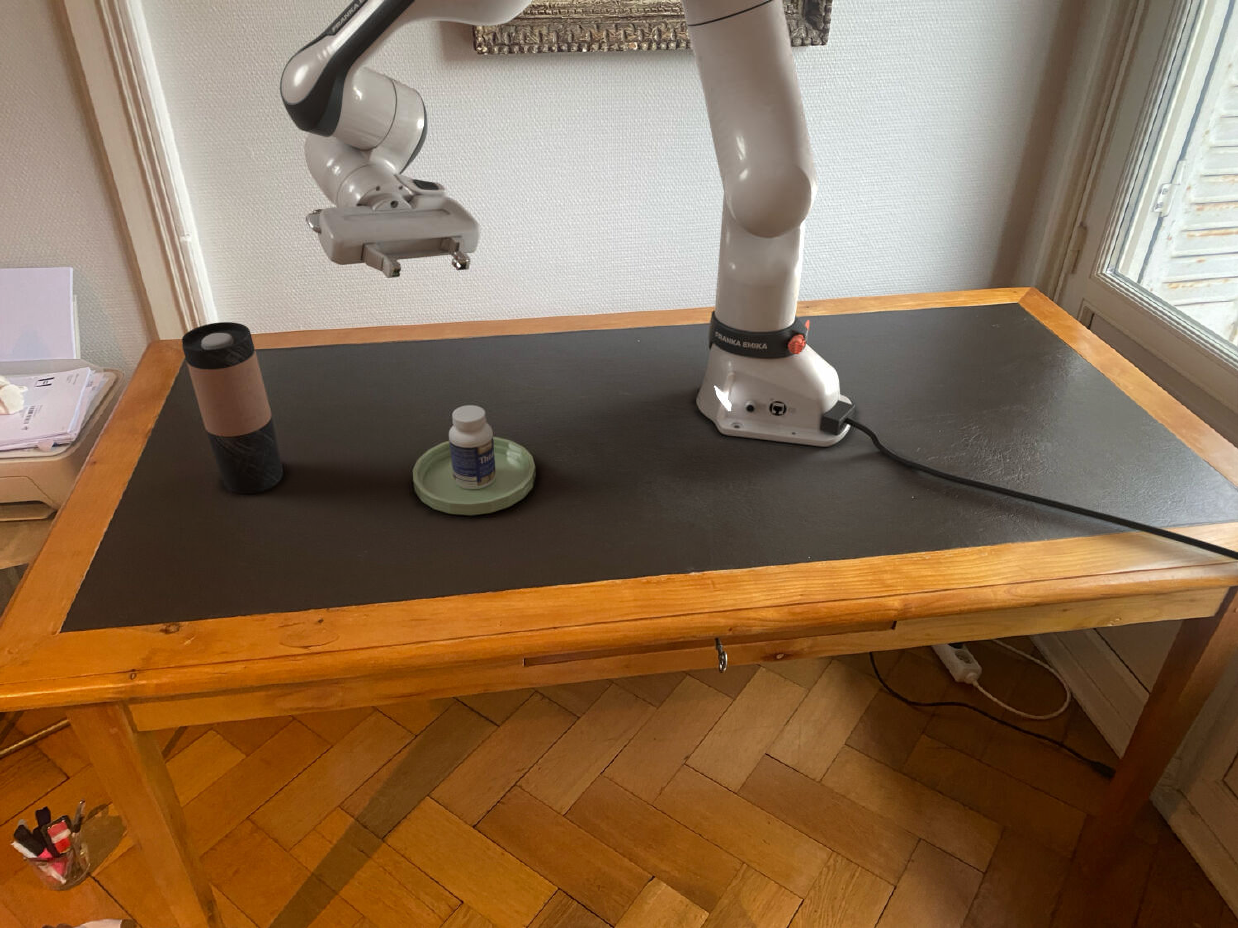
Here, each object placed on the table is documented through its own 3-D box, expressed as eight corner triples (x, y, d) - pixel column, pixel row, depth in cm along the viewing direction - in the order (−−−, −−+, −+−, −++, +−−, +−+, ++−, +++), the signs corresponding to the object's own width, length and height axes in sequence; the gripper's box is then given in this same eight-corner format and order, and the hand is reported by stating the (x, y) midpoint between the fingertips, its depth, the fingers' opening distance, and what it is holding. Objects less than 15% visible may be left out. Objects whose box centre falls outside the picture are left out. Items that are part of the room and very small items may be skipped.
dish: (555, 464, 116) (554, 451, 115) (497, 529, 105) (496, 516, 104) (455, 438, 121) (454, 426, 120) (390, 498, 110) (388, 485, 108)
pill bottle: (488, 493, 110) (482, 427, 105) (447, 488, 111) (439, 421, 106) (501, 469, 115) (496, 404, 109) (462, 464, 115) (455, 399, 110)
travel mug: (297, 468, 115) (264, 327, 104) (259, 500, 109) (220, 355, 98) (248, 456, 117) (211, 317, 106) (208, 488, 111) (164, 344, 100)
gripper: (301, 188, 105) (352, 253, 98) (452, 183, 117) (506, 240, 111) (298, 235, 109) (346, 300, 102) (444, 225, 121) (495, 282, 115)
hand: (430, 269), depth 107 cm, fingers open, 8 cm apart
